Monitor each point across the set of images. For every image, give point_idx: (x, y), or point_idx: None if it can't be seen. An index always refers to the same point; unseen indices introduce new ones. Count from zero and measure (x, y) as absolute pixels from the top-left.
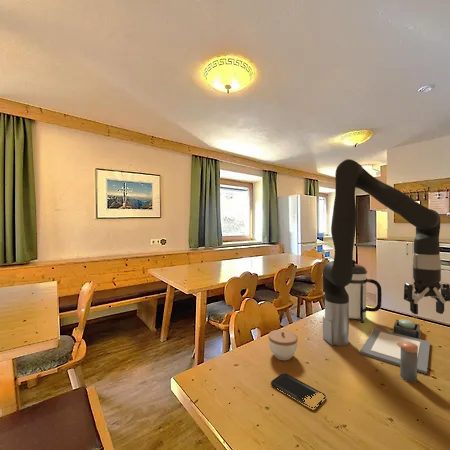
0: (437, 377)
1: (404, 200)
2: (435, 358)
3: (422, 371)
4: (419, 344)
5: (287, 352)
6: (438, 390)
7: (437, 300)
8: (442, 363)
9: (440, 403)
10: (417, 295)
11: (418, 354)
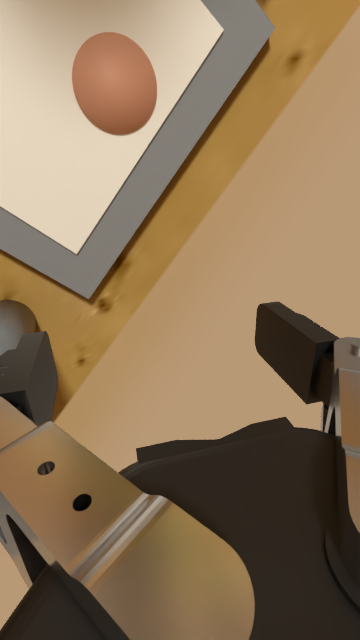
0: (115, 305)
1: None
2: (195, 179)
3: (77, 291)
4: (198, 65)
5: None
6: (76, 366)
7: (330, 365)
8: (194, 216)
9: None
10: (23, 569)
11: (133, 170)
